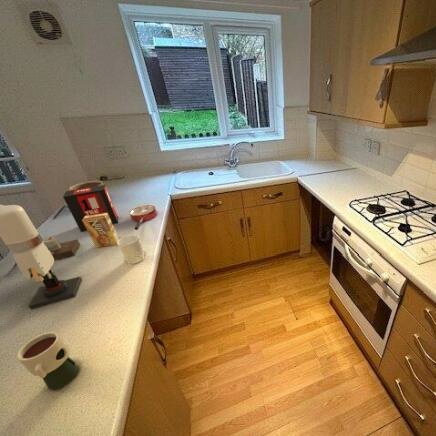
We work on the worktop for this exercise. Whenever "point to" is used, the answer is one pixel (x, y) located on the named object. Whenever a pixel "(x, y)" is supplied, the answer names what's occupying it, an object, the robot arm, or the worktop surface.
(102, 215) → the candy box
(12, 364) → the worktop surface
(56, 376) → the character mug
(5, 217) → the robot arm
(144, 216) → the frying pan
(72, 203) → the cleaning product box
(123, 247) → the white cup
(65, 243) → the base
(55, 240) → the tap knob
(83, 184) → the cooking pot
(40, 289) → the button block
